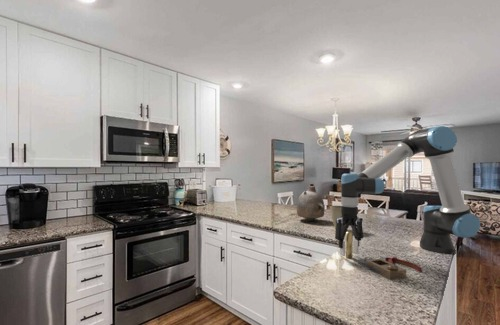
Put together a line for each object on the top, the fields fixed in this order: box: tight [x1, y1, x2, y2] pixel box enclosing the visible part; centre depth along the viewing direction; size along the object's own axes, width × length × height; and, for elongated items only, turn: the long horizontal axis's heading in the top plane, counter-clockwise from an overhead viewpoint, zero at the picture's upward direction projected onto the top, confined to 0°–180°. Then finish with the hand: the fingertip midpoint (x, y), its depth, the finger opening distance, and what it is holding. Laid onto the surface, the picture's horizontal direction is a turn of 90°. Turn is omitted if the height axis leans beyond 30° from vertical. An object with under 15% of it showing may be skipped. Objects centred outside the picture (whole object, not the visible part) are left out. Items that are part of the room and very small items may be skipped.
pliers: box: [378, 253, 423, 273], centre depth 116 cm, size 12×20×3 cm, turn 6°
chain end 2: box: [366, 257, 407, 281], centre depth 106 cm, size 8×13×4 cm, turn 17°
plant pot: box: [329, 205, 349, 231], centre depth 176 cm, size 15×15×16 cm
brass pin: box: [345, 230, 354, 259], centre depth 123 cm, size 3×3×12 cm
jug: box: [296, 182, 325, 222], centre depth 205 cm, size 24×21×30 cm
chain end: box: [357, 256, 383, 275], centre depth 111 cm, size 8×13×2 cm, turn 17°
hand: (349, 254), depth 123 cm, fingers open, 7 cm apart
